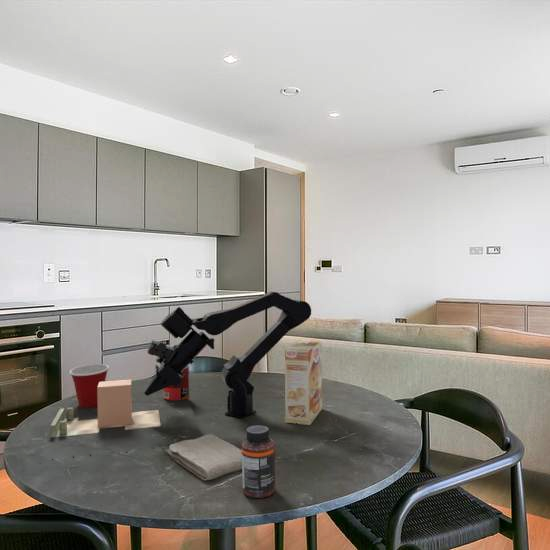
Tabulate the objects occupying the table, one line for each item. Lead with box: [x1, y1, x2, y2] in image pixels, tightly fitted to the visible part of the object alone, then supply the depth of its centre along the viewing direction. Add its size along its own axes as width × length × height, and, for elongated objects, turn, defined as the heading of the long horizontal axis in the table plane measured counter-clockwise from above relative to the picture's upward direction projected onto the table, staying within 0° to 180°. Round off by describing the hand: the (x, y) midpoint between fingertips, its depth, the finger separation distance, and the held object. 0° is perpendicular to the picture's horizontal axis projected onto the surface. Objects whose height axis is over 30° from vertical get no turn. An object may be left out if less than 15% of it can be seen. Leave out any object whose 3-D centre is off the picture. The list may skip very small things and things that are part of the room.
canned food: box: [162, 364, 190, 401], centre depth 139 cm, size 8×8×11 cm
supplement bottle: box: [241, 425, 276, 499], centre depth 81 cm, size 6×6×11 cm
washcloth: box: [167, 433, 242, 481], centre depth 95 cm, size 12×18×3 cm, turn 40°
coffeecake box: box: [284, 340, 323, 426], centre depth 123 cm, size 15×7×20 cm, turn 161°
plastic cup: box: [69, 363, 110, 408], centre depth 132 cm, size 11×11×12 cm
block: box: [97, 379, 133, 427], centre depth 116 cm, size 8×6×10 cm
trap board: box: [50, 407, 161, 439], centre depth 115 cm, size 25×14×4 cm, turn 107°
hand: (145, 394), depth 118 cm, fingers closed
